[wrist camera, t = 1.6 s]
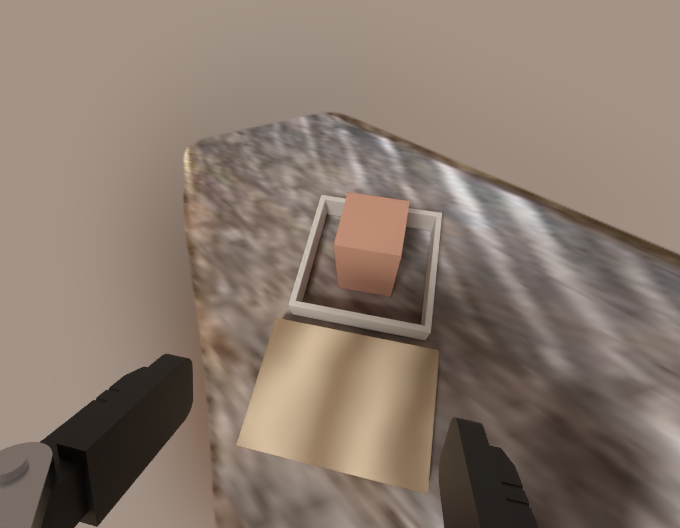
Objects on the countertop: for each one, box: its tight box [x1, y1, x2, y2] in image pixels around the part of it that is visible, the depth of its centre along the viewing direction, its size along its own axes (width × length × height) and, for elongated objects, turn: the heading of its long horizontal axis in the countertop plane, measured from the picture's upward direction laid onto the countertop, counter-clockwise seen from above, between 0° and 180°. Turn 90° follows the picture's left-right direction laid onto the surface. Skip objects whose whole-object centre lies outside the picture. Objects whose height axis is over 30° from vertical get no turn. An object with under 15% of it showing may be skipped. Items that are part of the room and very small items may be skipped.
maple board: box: [237, 318, 439, 494], centre depth 27 cm, size 14×10×2 cm
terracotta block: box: [334, 192, 410, 297], centre depth 29 cm, size 5×5×8 cm
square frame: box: [289, 195, 442, 341], centre depth 32 cm, size 12×12×2 cm
